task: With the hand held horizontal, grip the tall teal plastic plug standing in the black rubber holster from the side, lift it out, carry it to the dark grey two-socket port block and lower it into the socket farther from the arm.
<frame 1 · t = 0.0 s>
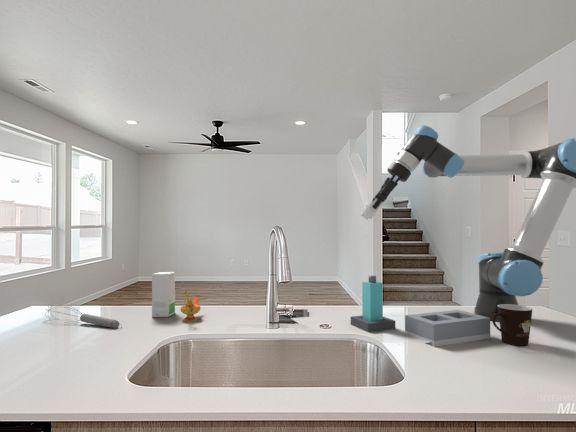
hand: (365, 217, 135), 36 cm above the worktop, tool tilted 35°, fingers open, 13 cm apart
handgun: (289, 319, 142), on the worktop
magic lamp: (191, 318, 140), on the worktop
port: (447, 336, 116), on the worktop
skincare box: (163, 315, 145), on the worktop
plug: (372, 326, 124), point 1 cm above the worktop, touching holster
kitchen whisk: (83, 324, 132), on the worktop
coffee mug: (509, 343, 111), on the worktop
holster: (372, 329, 124), on the worktop
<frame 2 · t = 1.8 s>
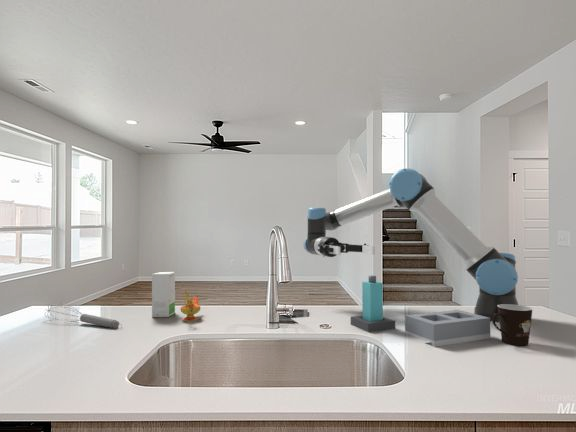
hand: (356, 250, 134), 25 cm above the worktop, tool horizontal, fingers open, 13 cm apart
nothing on the worktop moved.
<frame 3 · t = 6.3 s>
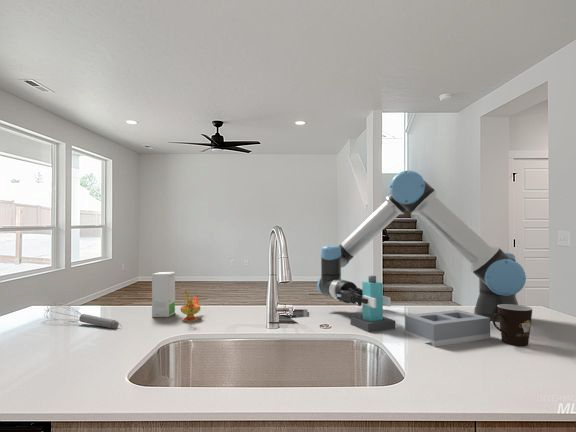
hand: (382, 302, 120), 10 cm above the worktop, tool horizontal, fingers closed on plug, 4 cm apart
plug: (372, 326, 124), point 1 cm above the worktop, touching gripper, holster
everything else where it was.
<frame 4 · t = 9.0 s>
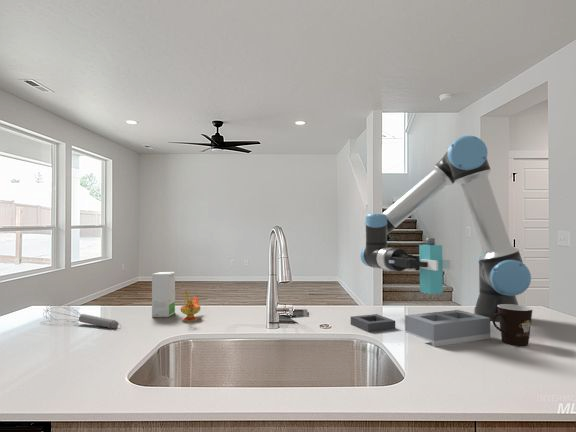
hand: (444, 265, 111), 22 cm above the worktop, tool horizontal, fingers closed on plug, 4 cm apart
plug: (431, 292, 115), point 13 cm above the worktop, touching gripper
everything else where it was.
when the fingers open (12 cm above the worktop, at t = 11.8 s): plug drops 2 cm, resting on port.
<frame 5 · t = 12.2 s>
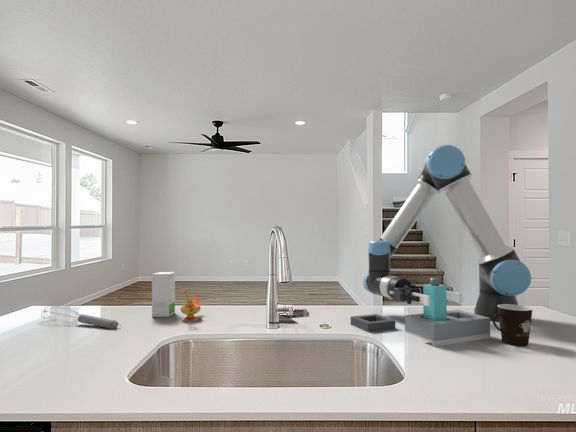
hand: (445, 299, 111), 12 cm above the worktop, tool horizontal, fingers open, 11 cm apart
plug: (435, 333, 115), point 1 cm above the worktop, touching port
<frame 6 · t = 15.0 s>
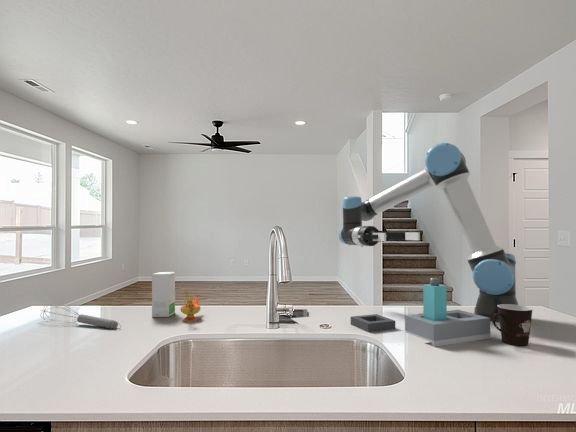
hand: (402, 236, 129), 29 cm above the worktop, tool horizontal, fingers open, 13 cm apart
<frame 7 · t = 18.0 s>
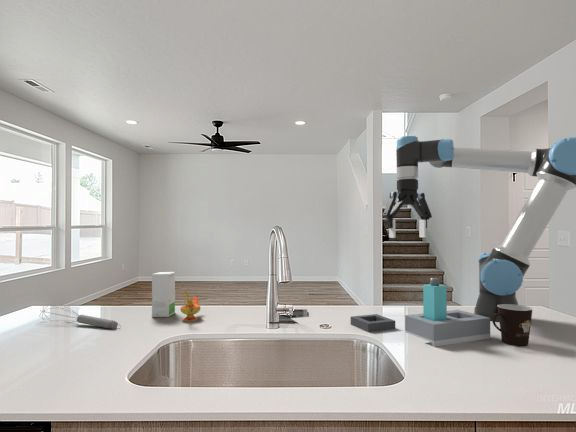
hand: (407, 237, 142), 29 cm above the worktop, tool pointing down, fingers open, 13 cm apart
at the end: plug 0.0 cm from the target spot on the port, point 1.5 cm above the port's base; plug tilted 0°; the gripper is holding nothing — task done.
